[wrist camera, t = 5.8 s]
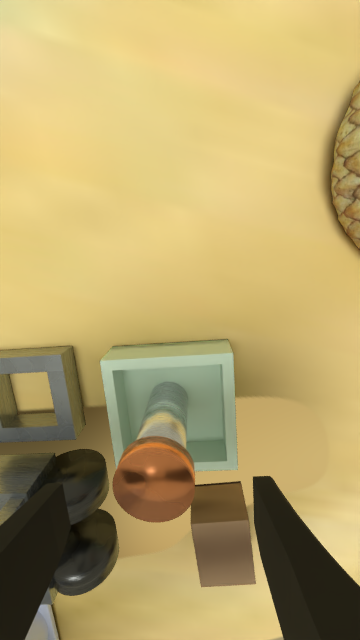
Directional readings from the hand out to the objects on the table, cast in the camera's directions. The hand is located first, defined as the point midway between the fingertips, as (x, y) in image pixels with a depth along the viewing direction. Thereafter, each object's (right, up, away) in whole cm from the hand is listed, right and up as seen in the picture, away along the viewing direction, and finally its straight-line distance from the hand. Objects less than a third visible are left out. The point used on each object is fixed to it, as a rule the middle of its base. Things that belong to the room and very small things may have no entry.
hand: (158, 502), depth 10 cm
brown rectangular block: (+4, -7, +10) cm, 13 cm away
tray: (0, +2, +8) cm, 8 cm away
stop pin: (0, +2, +7) cm, 7 cm away
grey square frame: (-9, +2, +8) cm, 12 cm away
